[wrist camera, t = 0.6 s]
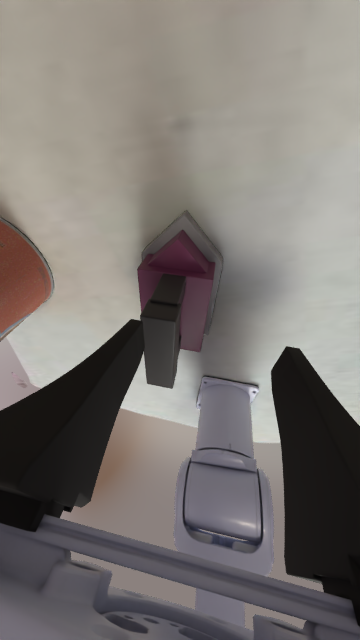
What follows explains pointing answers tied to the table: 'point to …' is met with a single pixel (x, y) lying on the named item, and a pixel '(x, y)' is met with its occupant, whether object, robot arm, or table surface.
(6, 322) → the canned food
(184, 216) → the iron
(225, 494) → the robot arm
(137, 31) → the table surface
